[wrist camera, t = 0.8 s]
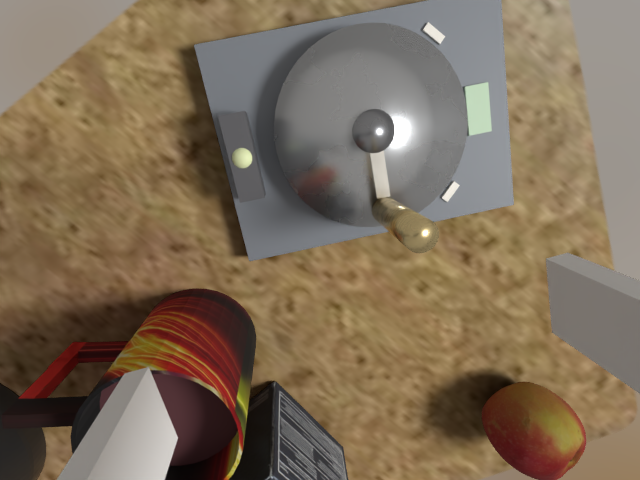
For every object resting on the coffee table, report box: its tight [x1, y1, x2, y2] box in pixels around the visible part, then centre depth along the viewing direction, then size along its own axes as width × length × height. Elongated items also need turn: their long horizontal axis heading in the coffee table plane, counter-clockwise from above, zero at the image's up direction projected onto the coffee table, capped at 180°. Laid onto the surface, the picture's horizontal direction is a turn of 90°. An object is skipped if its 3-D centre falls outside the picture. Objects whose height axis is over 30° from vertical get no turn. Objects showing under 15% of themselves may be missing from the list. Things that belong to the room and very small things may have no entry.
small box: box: [229, 382, 348, 480], centre depth 33 cm, size 11×6×10 cm, turn 39°
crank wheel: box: [274, 23, 468, 253], centre depth 25 cm, size 14×14×9 cm
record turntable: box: [194, 0, 514, 261], centre depth 29 cm, size 22×16×4 cm
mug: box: [1, 289, 256, 480], centre depth 29 cm, size 10×14×12 cm
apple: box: [482, 382, 586, 480], centre depth 35 cm, size 8×8×8 cm
